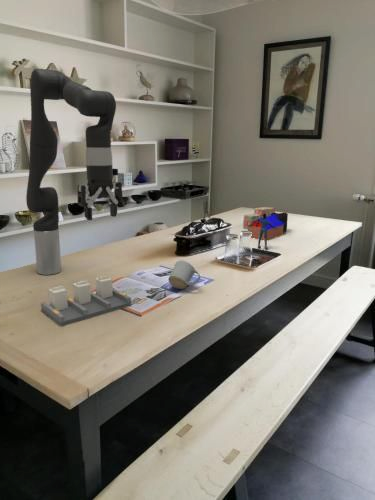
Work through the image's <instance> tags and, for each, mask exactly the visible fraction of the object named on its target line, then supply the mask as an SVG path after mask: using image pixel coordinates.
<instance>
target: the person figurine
mask: <svg viewBox="0 0 375 500" xmlns="http://www.w3.org/2000/svg"><path fill="white" fill-rule="evenodd" d="M265 218H266V214H263V219H260V220H259V221H258V223H257V224H256V227H257V226H258V224H259V223H260V222H261V229H260V238H259V240H258V241H257V249H260V250H261V249H262V251H263V250H268V249H269V247H268V246H267V245H268V241H267V224H269V226H271V227H273V226H272V225H271V224H270V223H269V221H268V220H267V219H265ZM273 228H274V227H273ZM274 229H275V230H276V228H274ZM263 232H264V238H265V241H264V246H261V241H262V240H261V238H262V235H263Z"/></svg>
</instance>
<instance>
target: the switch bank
mask: <svg viewBox="0 0 375 500" xmlns="http://www.w3.org/2000/svg"><path fill="white" fill-rule="evenodd" d="M112 291H113V296H112V297H108V298H104V299H103V298H101V297H99V296H98V295H96V293H94V292H93V291H91V302H89V303H85V304H82V305H80V304H78V303H77V302H75V301H74V298H71V297H69V296H67V303H68V308H67V309H63V310H59V311H57V310H55V309H54V308H53V307H51V306H50V303H47V302H46V301H42V302H40V308H41V312H42V313H44V314H45V315H46V316H47V317H49V318H50V319H51V320H52V321H54V322H55V323H56V324H57V325H59V326H60V327H62V326H66V325H70V324H73V323H76V322H80V321H83V320H86V319H90V318H93V317H94V318H95V317H98V316H101V315H104V314H107V313H110V312H113V311H118V310H120V309H124V308H127V307H131V306H132V297H130V296H128V294H125V293H124V292H121V291H119V290H117V289H116V288H113V287H112Z"/></svg>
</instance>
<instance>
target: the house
mask: <svg viewBox="0 0 375 500" xmlns="http://www.w3.org/2000/svg"><path fill="white" fill-rule="evenodd" d="M276 217H277V218H276ZM260 219H263V218H260ZM260 219H257V220H256V221H254V222H253V223H252V224H250V225H249V226H248V229H247V232H248V231H250V232H252V236H251V238H250V239H253V238H255V239H254V240H258V239H259V238H260V229H261V222H260V223H259V224H258V226H257V227H256V224H257V223H258V221H259V220H260ZM265 219H267V220H268V221H269V223H270V224H271V225H272V226H273V227H274V228H276V230H275V229H274V228H273V227H271V226H269V224H267V240H268V241H270V240H273V239H276V238H278V237H281V236H282V235H283V236H284V233H283V226H284V223H283V222H282V221H280V220H279V219H278V216H277V215H276V214H274V215H270V216H267V217H266V218H265ZM280 235H281V236H280ZM275 237H276V238H275ZM263 240H264V242H265V238H264V232H263V235H262V238H261V241H263Z"/></svg>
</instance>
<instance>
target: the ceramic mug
mask: <svg viewBox="0 0 375 500" xmlns="http://www.w3.org/2000/svg"><path fill="white" fill-rule="evenodd" d="M195 274H197V275H198V277H197V278H196V279H195V280H193V281H191V279H193V276H194V275H195ZM168 277H169V278H168V282H169V284H170V285H171V286H172V287H174V288H175V289H177V290H179V289H180V290H183V289H186V288H187V286H194V285H196V284H198V283H199V282H200V279H201V275H200V272H199V271H198V270H196V268H195V267H194V266H193V265H192V264H191V263H190V262H187V261H186V260H185V261H184V260H178V261H176V262H175V264H174V267H173V268H172V270H171V272H170V274H169V276H168Z"/></svg>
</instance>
